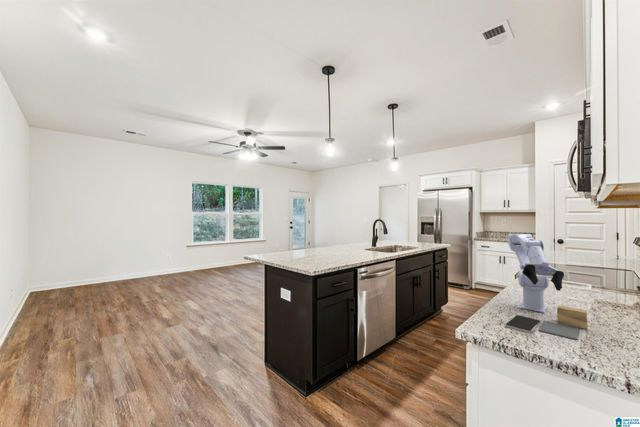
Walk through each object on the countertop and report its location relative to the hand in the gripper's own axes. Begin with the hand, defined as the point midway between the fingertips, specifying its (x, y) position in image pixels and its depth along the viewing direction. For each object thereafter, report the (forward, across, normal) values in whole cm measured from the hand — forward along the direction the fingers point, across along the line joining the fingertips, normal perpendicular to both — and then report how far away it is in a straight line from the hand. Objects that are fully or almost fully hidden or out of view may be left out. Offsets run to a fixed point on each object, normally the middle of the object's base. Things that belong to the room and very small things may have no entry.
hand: (547, 285), depth 100 cm
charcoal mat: (+10, +5, +10) cm, 16 cm away
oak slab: (+3, +13, +13) cm, 18 cm away
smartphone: (+10, -4, +14) cm, 18 cm away
